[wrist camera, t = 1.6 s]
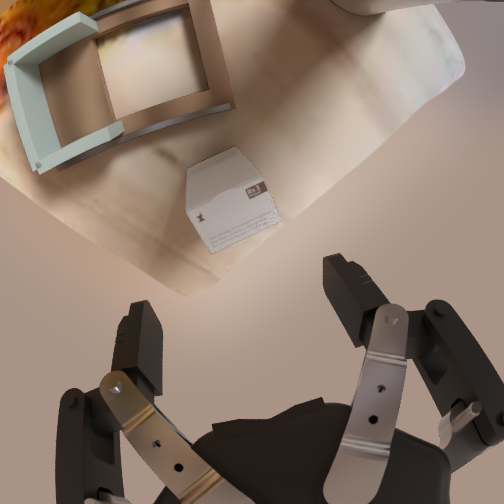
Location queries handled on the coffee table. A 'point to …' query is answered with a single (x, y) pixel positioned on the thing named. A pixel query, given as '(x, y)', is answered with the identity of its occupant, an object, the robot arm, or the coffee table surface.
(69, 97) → the board
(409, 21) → the coffee table surface
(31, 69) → the bracket
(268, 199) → the skincare box
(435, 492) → the robot arm
